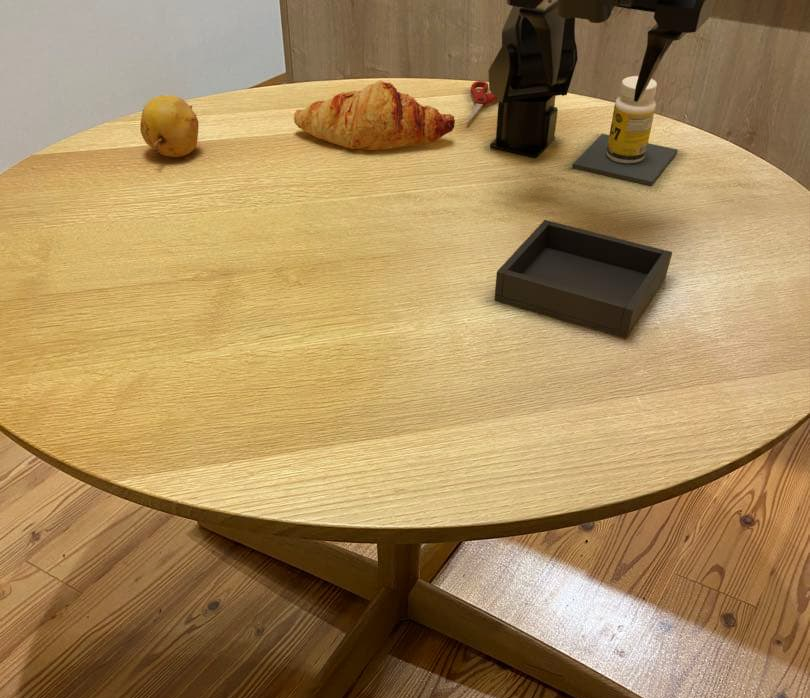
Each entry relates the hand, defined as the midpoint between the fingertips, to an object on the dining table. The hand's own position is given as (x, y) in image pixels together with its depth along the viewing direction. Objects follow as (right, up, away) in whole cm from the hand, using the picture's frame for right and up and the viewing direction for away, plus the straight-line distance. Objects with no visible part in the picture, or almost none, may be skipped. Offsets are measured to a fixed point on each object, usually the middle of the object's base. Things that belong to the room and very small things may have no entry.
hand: (593, 92), depth 81 cm
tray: (-2, -21, -2) cm, 21 cm away
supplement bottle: (+8, +1, +16) cm, 18 cm away
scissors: (-9, +13, +28) cm, 32 cm away
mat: (+8, +1, +17) cm, 18 cm away
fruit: (-49, +3, +20) cm, 53 cm away
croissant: (-24, +6, +22) cm, 33 cm away
